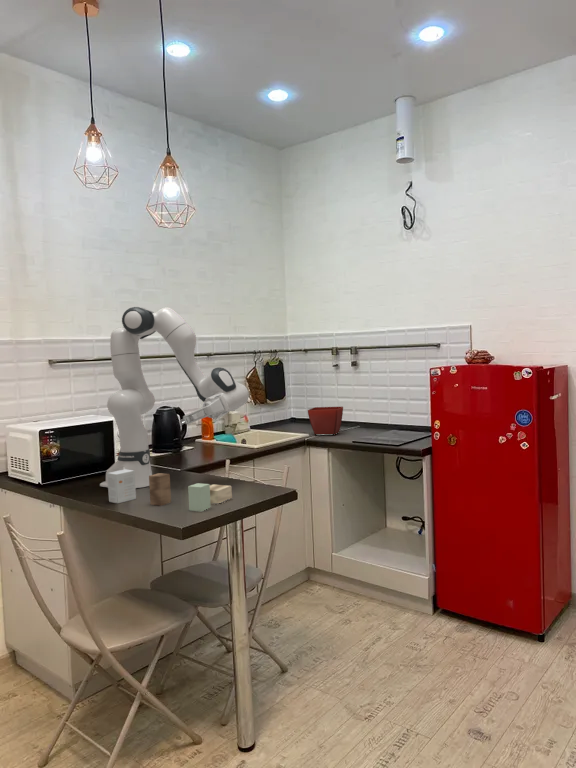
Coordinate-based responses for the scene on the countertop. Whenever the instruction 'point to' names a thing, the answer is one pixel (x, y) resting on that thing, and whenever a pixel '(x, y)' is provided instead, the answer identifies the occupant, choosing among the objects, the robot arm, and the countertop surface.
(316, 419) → the plant pot
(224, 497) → the beech block
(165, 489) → the walnut block
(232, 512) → the countertop surface
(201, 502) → the sage green block
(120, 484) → the small box
